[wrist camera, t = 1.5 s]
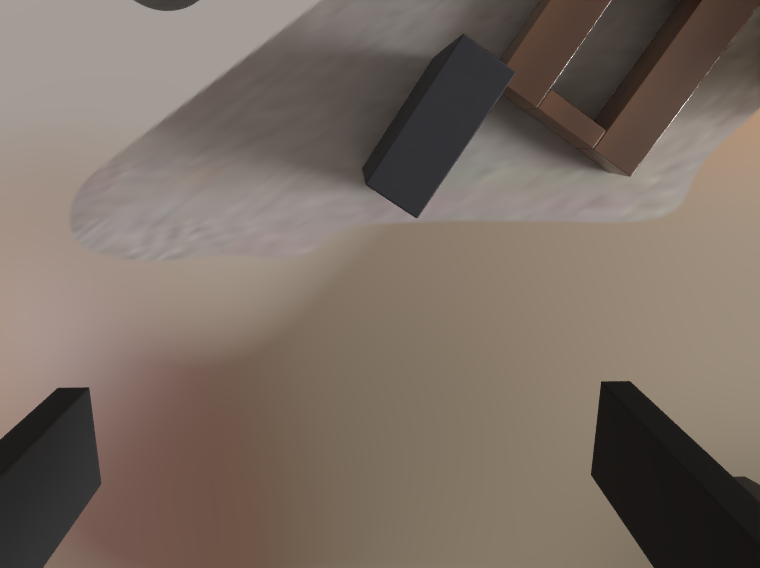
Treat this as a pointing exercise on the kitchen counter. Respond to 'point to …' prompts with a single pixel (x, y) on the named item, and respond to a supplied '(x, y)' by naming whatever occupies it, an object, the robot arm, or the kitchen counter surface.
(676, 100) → the seat base
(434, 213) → the kitchen counter surface
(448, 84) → the dark grey rectangular block
